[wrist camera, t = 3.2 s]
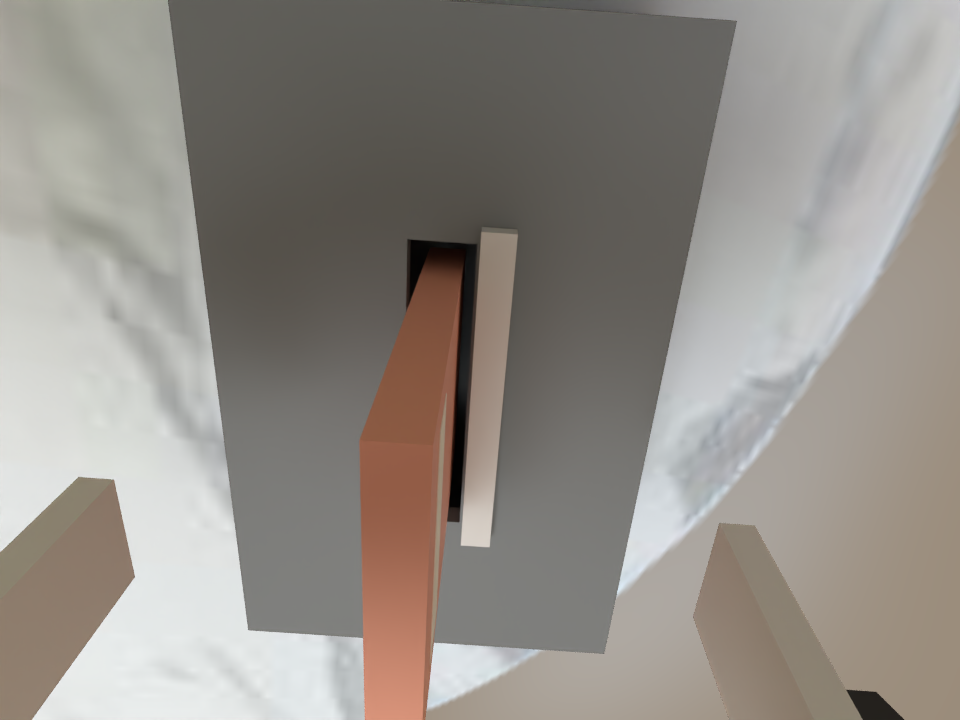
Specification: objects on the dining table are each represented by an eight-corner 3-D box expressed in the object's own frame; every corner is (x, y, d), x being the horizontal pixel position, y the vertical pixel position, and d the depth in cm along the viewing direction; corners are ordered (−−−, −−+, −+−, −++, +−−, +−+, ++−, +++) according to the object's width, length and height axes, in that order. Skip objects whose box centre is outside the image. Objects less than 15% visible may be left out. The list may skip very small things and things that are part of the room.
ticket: (429, 246, 21) (358, 440, 10) (466, 249, 21) (433, 445, 10) (423, 448, 25) (364, 754, 14) (455, 450, 25) (421, 758, 14)
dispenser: (288, 11, 24) (153, -23, 15) (648, 37, 25) (745, 19, 15) (314, 478, 34) (242, 642, 24) (575, 496, 34) (606, 667, 24)
